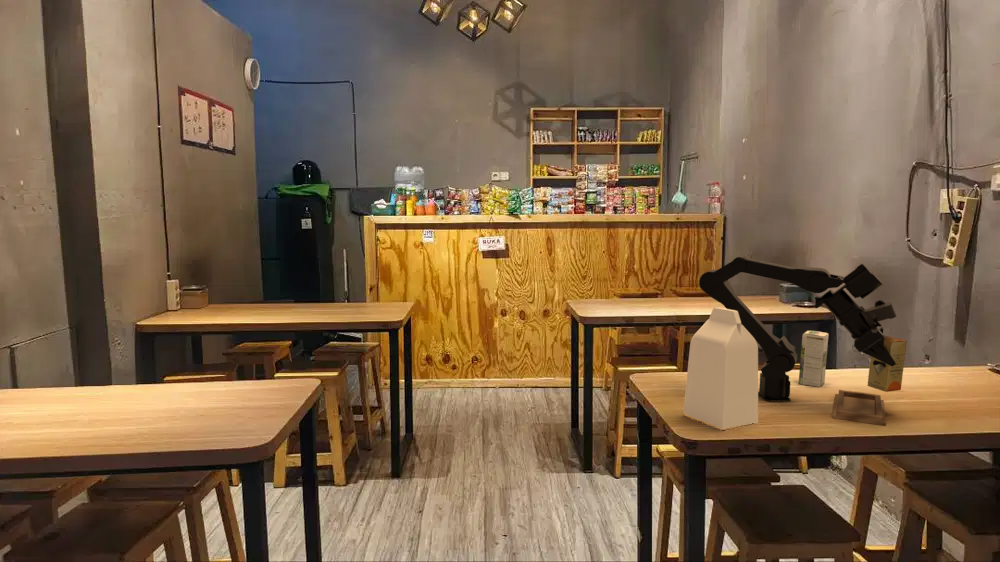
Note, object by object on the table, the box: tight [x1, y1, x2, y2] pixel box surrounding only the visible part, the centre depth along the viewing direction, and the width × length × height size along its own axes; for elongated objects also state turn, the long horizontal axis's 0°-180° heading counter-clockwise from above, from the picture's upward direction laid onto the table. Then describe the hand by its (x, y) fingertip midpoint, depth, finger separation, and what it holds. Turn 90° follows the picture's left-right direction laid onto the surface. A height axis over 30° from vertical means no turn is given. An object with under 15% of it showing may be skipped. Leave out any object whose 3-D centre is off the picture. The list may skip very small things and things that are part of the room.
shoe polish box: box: [867, 335, 908, 393], centre depth 157 cm, size 5×5×12 cm
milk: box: [682, 306, 759, 429], centre depth 152 cm, size 12×12×26 cm
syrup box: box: [798, 330, 830, 388], centre depth 183 cm, size 6×6×14 cm
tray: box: [831, 389, 887, 426], centre depth 161 cm, size 11×20×2 cm, turn 151°
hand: (893, 361), depth 157 cm, fingers closed on shoe polish box, 7 cm apart
